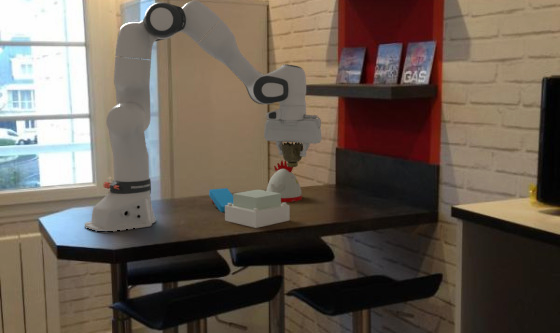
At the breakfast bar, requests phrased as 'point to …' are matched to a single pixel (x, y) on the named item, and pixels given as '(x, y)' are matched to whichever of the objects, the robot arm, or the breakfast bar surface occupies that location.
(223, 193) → the blue long block
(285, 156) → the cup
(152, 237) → the breakfast bar surface
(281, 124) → the robot arm
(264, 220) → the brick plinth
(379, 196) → the breakfast bar surface
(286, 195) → the kitchen timer
